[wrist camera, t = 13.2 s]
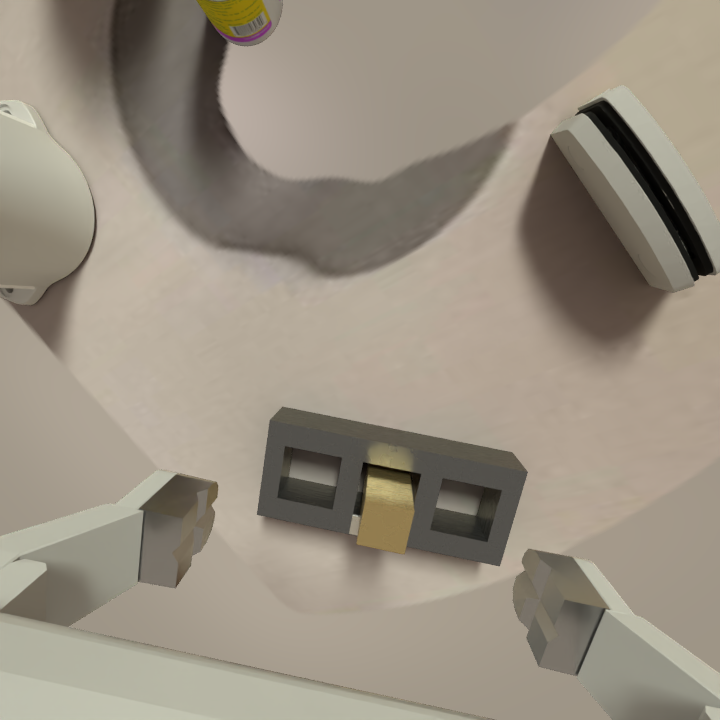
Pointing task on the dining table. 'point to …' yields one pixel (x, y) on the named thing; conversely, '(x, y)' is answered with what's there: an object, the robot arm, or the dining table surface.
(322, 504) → the grey peg holder
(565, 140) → the grey rounded block
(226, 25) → the supplement bottle
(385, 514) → the brass peg
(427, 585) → the dining table surface
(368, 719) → the robot arm
